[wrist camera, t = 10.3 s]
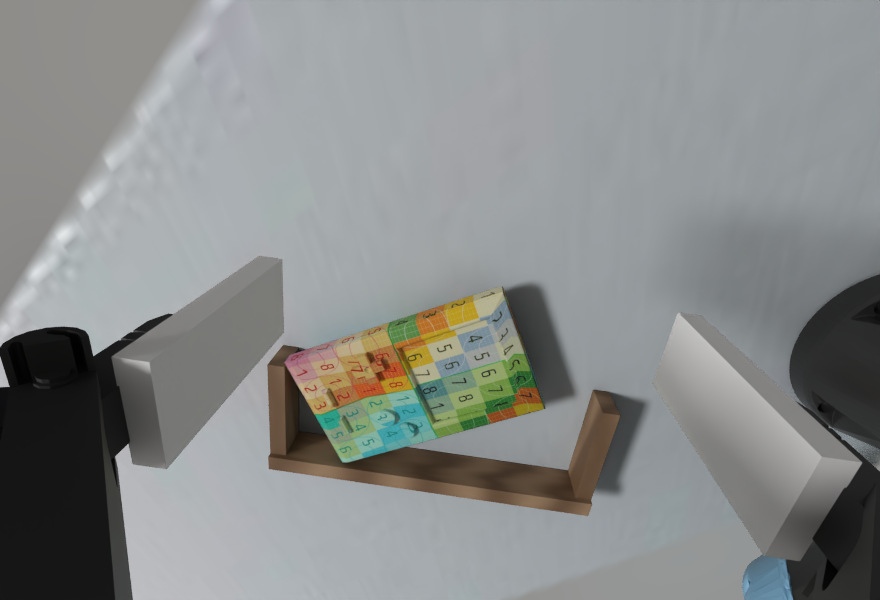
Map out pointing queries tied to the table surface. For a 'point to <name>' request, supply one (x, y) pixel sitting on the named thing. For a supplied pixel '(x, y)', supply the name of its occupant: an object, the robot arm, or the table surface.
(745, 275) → the table surface
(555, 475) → the frame
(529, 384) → the puzzle game
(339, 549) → the table surface
